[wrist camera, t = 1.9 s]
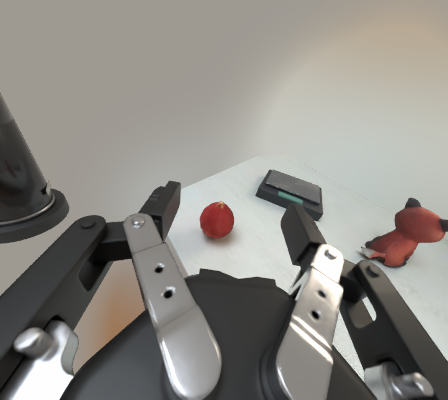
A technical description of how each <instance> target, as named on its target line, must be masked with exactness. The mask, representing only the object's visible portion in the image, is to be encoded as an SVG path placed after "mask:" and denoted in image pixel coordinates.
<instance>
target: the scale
mask: <svg viewBox="0 0 448 400" xmlns="http://www.w3.org/2000/svg"><path fill="white" fill-rule="evenodd" d="M256 196H257V197H260V198H262V199H265V200H267V201H269V202H272V203H274V204H277V205H279V206H282V207H284V208H288V206H289V204H291V203H292V204H298V205H302V206H303V208H304V210H305V212H306V213H308V214H309V215H310V216H311V217H312V218H313V220H316V221H318V220H319V219H320V218H321V216H322V215H323V207H322V193H321V188H319V186H317V185H314V184H312V183H309V182H306V181H303V180H301V179H298V178H295V177H292V176H290V175H287V174H284V173H281V172H279V171H276V170H269V171H268V173H267V175H266V176H265V178H264V180H263V181H262V183H261V185H260V186H259V188H258V190H257V193H256Z"/></svg>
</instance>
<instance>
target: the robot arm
mask: <svg viewBox="0 0 448 400" xmlns="http://www.w3.org/2000/svg"><path fill="white" fill-rule="evenodd" d="M50 188H51V184H50V183H49V181H48V184H47V182H46V180H45V178H44V176H43V174H42V172H41V170H40V168H39V166H38V164H37V163H36V161H35V159H34V157H33V155H32V153H31V151H30V149H29V147H28V145H27V143H26V142H25V139H24V137H23V135H22V133H21V132H20V130H19V128H18V126H17V124H16V122H15V120H14V118H13V116H12V115H11V113H10V111H9V109H8V107H7V105H6V103H5V101H4V99H3V97H2V95H1V93H0V227H3V226H11V225H16V224H20V223H23V222H27V221H29V220H32V219H35V218H37V217H39V216H41V215H43V214H44V213H46V212H47V211H49V210H50V209H51V208H52V207H53V206H54V204H55V202H56V198H55V196H54V194H53V193H52V192H51V190H50ZM180 192H181V183H179V182H174V181H169V182H168V184H167V185H166V187H162V186H160V187H158V188H157V189H155V190H154V191H153V193H152V194H151V196H150V197H149V199H148V200H147V201H146V203H145V204H144V205H143V207H142V208H141V210H140V211H139V212H138V213H137V214H133V215H131V216H129V217H127V218H126V219H125V221H122V222H110V223H106V221H105V219H104V218H103V217H101V216H97V215H91V216H86V217H83V218H80V219H78V220H77V221H75V222H74V223H73V224H72V225H71V226H70V227H69V228H68V229H67V230H66V231H65V232H64V233H63V234H62V235H61V236H60V237H59V238H58V239H57V240H56V241H55V242H54V243H53V244H52V245H51V246H50V247H49V248H48V249H47V250H46V251H45V252H44V253H43V254H42V255H41V256H40V257H39V258H38V259H37V260H36V261H35V262H34V263H33V264H32V265H31V266H30V267H29V268H28V269H27V270H26V271H25V272H24V273H23V274H22V275H21V276H20V277H19V278H18V279H17V280H16V281H15V282H14V283H13V284H12V285H11V286H10V287H9V288H8V289H7V290H6V291H5V292H4V293H3V294H2V295H1V296H0V400H448V361H447V360H446V359H445V357H444V356H443V354H442V353H441V352H440V350H439V349H438V347H437V346H436V345H435V343H434V342H433V340H432V339H431V338H430V336H429V335H428V333H427V332H426V331H425V329H424V328H423V326H422V325H421V324H420V322H419V321H418V319H417V318H416V317H415V315H414V314H413V312H412V311H411V310H410V308H409V307H408V305H407V304H406V303H405V301H404V300H403V298H402V297H401V296H400V294H399V293H398V291H397V290H396V289H395V287H394V286H393V284H392V283H391V282H390V280H389V279H388V277H387V276H386V275H385V273H384V272H383V271H382V270H381V269H380V268H379V267H378V266H376V265H375V264H373V263H371V262H369V261H366V260H361V261H360V262H358V263H357V264H354V263H352V262H349V261H347V260H345V259H344V258H343V256H342V254H341V253H340V252H339V251H338V250H337V249H335V248H334V247H332V246H330V245H327V243H326V241H325V240H324V238H323V236H322V234H321V232H320V231H319V230H318V227H317V225H316V223H315V222H314V220H313V218H312V217H311V216H310V215H309V214H308V213H306V212H305V210H304V208H303V206H302V205H298V204H292V203H291V204H289V206H288V208H287V210H286V212H285V213H284V215H283V217H282V219H281V229H282V232H283V235H284V238H285V241H286V245H287V248H288V251H289V254H290V258H291V261H292V264H293V265H297V266H300V267H301V269H300V270H299V272H298V274H297V276H296V278H295V279H294V281H293V283H292V285H291V287H290V289H289V291H288V293H287V292H285V291H284V290H282V289H281V288H279V287H277V286H276V283H275V280H274V279H268V278H261V277H252V278H243V279H237V278H234V277H232V276H229V275H227V274H225V273H222V272H220V271H215V270H208V269H201V268H200V272H199V274H196V275H191V276H188V277H186V278H183V276H182V275H181V272H180V270H179V268H178V266H177V264H176V261H175V259H174V257H173V255H172V253H171V251H170V249H169V247H168V245H167V243H166V242H164V241H165V238H166V236H167V234H168V232H169V229H170V227H171V225H172V222H173V220H174V218H175V215H176V213H177V211H178V208H179V205H180ZM124 259H132V263H133V266H134V269H135V273H136V277H137V280H138V283H139V287H140V291H141V295H142V299H143V302H144V306H145V309H146V310H145V311H144V312H143V313H141V314H140V315H139V316H138V317H137V318H136V319H135V320H134V321H132V323H130V324H129V325H128V326H127V327H125V329H123V330H122V331H121V332H120V333H119V334H117V335H116V336H115V337H114V338H113V339H112V340H111V341H109V342H108V343H107V344H106V345H105V346H104V347H103V348H102V349H100V350H99V351H98V352H97V353H96V354H95V355H94V356H92V357H91V358H90V359H89V360H88V361H87V362H86V363H85V364H84V365H83V366H82V367H81V368H80V369H79V370H78V372H77V373H76V374H75V375H74V373H73V368H72V366H73V360H74V357H75V354H76V352H77V349H78V344H79V340H78V336H77V335H76V333H74V332H73V330H74V329H75V327H76V325H77V324H78V322H79V320H80V318H81V317H82V315H83V313H84V312H85V310H86V308H87V306H88V305H89V303H90V301H91V299H92V298H93V296H94V294H95V293H96V291H97V289H98V287H99V286H100V284H101V282H102V281H103V279H104V277H105V275H106V274H107V272H108V270H109V268H110V267H111V265H112V263H113V261H117V260H124ZM365 297H368V299H369V300H370V302H371V304H372V306H373V308H374V309H375V312H376V320H375V321H373V320H372V318H371V316H370V314H369V312H368V310H367V309H366V307H365V305H364V303H363V301H362V299H364V298H365ZM339 310H340V313H341V315H342V318H343V320H344V323H345V325H346V327H347V330H348V332H349V335H350V337H351V340H352V342H353V345H354V347H355V350H356V352H357V355H358V357H359V360H360V362H361V365H362V367H363V370H364V381H365V383H364V382H363V380H362V379H361V378H360V377H359V376H358V374H357V373H356V372H355V371H354V370H353V368H352V367H351V366H350V365H349V364H348V362H347V361H346V360H345V359H344V358H343V357H342V355H341V354H340V353H339V352H338V351H337V349H336V348H335V347H334V346H333V345H332V342H333V337H334V332H335V327H336V323H337V318H338V313H339Z"/></svg>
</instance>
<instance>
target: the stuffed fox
mask: <svg viewBox="0 0 448 400" xmlns="http://www.w3.org/2000/svg"><path fill="white" fill-rule="evenodd" d="M395 227H396V229H395V230H393V231H391V232H389V233H387V234H385V235H383V236H379V237H376V238H374V239H373V240H372V241H368V242H366V247H367V248H363V247H361V248H362V251H363V253H364V254H365V255H366V256H367V257H368V258H370V259H371V258H373V257H377V256H380V257H383V258H385V262H384V265H388V266H389V267H400V266H404V265H406V261H407V260H408V259H409V258H410V256H411V255H412V254H413V252H414V250H415V249H416V247H417V245H418V243H432V242H438V241H440V240H441V239H442V238H443V237H444V235H445V232H447V231H448V220H443V219H441V218H440V217H439V216H437V215H436V214H434V213H433V212H431V211H429V210H427V209H425V208H422V207H421V205H420V203H419V202H418V200H416V199H414V198H409V199H408V201H407V203H406V205H405V208H404V209H403V210H401V211H400V212H398V213H397V214H396V215H395Z"/></svg>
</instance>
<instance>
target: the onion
mask: <svg viewBox="0 0 448 400" xmlns="http://www.w3.org/2000/svg"><path fill="white" fill-rule="evenodd" d="M233 225H234V216H233V213H232V211H231V209H230V208H229V207H228V206H227V205H226V204H224V202H222V201H220V202H215V203H212V204H210V205H209V206H207V207H206V208H205V209H204V210H203V212H202V214H201V216H200V226H201V228H202V230H203V232H204V233H205V234H206V235H208V236H209V237H212V238H221V237H224V236H226V235H227V234H228V233H230V232H231V230H232V228H233Z"/></svg>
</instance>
